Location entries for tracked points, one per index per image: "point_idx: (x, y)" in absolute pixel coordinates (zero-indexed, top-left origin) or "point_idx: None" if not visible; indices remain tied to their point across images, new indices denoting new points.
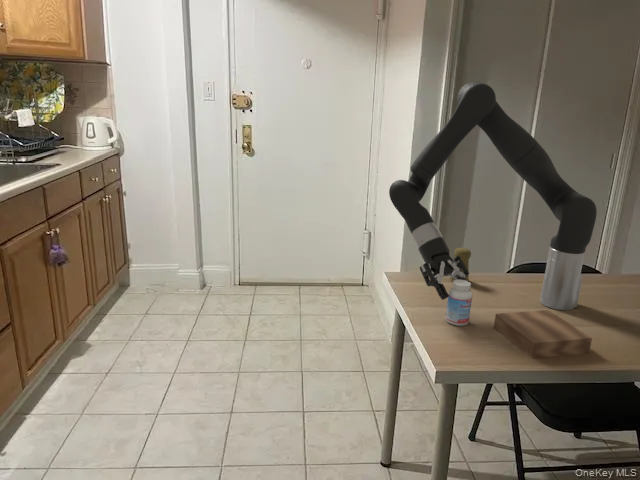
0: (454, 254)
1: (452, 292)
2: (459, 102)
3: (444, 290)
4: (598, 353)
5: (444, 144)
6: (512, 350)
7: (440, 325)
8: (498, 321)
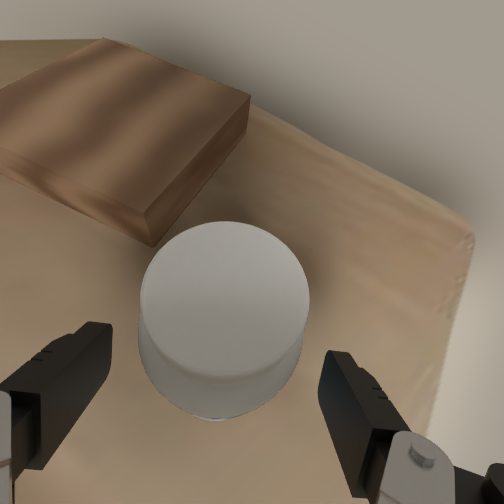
0: None
1: (297, 341)
2: None
3: (363, 378)
4: None
5: None
6: (248, 166)
7: (309, 382)
8: (161, 210)
